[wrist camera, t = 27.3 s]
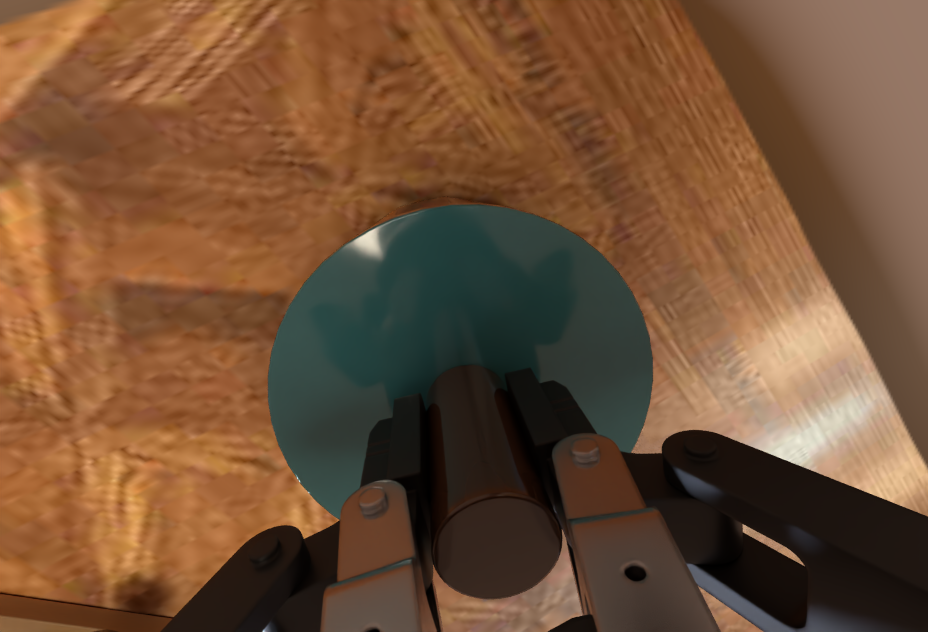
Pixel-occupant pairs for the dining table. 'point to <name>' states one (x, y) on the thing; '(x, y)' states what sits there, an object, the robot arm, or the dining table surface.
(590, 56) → the dining table surface
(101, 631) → the ball tipped lever
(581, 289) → the crock lid
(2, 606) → the wooden lever switch base
